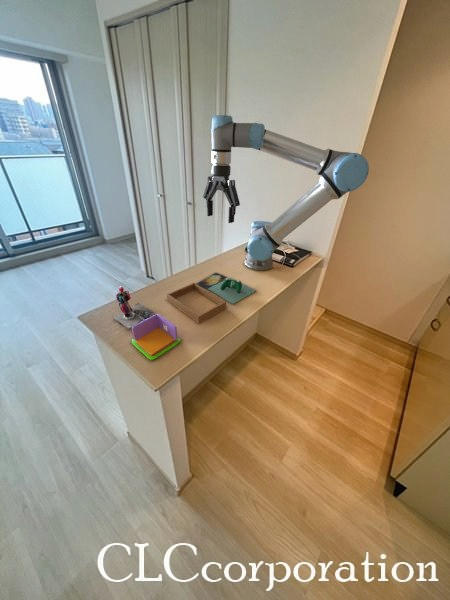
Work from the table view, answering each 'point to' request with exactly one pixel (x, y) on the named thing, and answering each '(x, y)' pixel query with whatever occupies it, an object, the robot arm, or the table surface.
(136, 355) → the table surface
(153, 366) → the table surface
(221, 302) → the box
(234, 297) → the towel
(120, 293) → the statue
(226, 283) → the gaming controller
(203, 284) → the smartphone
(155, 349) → the miniature room corner
